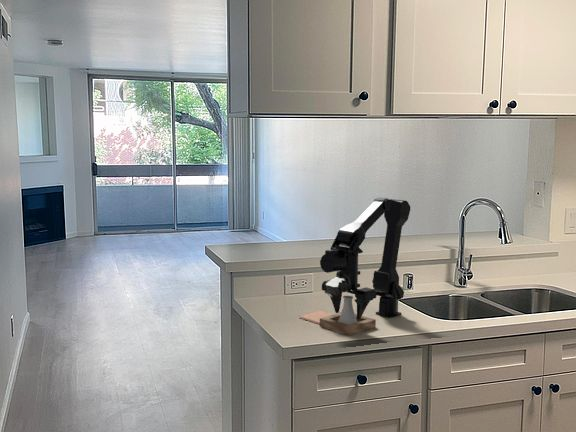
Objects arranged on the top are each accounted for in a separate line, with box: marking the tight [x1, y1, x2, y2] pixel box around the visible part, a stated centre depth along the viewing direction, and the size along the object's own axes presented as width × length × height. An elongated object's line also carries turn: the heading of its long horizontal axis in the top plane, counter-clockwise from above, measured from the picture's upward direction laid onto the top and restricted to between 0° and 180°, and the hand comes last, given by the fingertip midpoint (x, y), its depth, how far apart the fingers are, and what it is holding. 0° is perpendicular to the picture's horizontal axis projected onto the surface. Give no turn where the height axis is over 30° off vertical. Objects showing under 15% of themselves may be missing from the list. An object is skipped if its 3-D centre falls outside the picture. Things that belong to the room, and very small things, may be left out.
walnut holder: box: [319, 312, 377, 336], centre depth 196 cm, size 13×13×2 cm
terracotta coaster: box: [299, 310, 334, 325], centre depth 205 cm, size 10×10×1 cm
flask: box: [338, 294, 357, 325], centre depth 195 cm, size 7×7×10 cm
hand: (347, 316), depth 196 cm, fingers open, 9 cm apart
